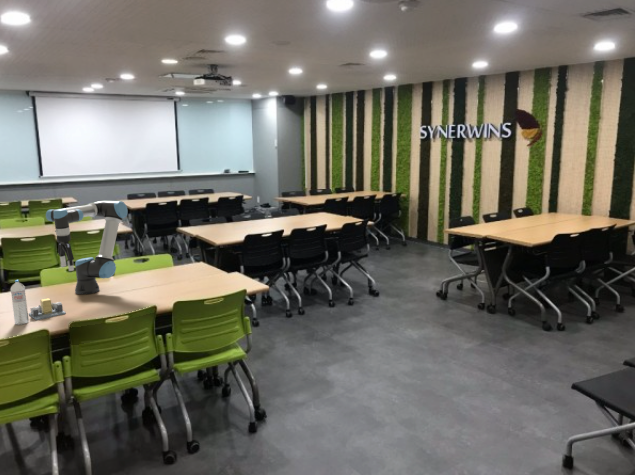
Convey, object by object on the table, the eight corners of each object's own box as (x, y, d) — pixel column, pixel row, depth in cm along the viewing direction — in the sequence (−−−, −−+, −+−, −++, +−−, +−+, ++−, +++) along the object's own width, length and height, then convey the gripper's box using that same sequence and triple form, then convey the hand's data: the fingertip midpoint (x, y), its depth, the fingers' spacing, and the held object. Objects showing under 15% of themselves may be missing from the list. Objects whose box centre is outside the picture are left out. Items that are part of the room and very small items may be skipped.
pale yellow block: (49, 310, 301) (48, 298, 300) (52, 312, 298) (50, 299, 297) (41, 312, 298) (40, 299, 297) (44, 314, 295) (42, 301, 294)
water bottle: (31, 320, 287) (26, 278, 283) (24, 325, 281) (19, 281, 276) (19, 321, 287) (13, 278, 283) (12, 325, 280) (6, 282, 276)
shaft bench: (28, 314, 298) (27, 304, 297) (57, 308, 309) (56, 298, 308) (36, 320, 288) (34, 309, 287) (65, 313, 299) (64, 303, 298)
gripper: (49, 232, 310) (54, 266, 315) (63, 238, 293) (68, 273, 297) (62, 231, 315) (67, 263, 320) (77, 236, 298) (81, 271, 302)
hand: (67, 268), depth 309 cm, fingers open, 13 cm apart
